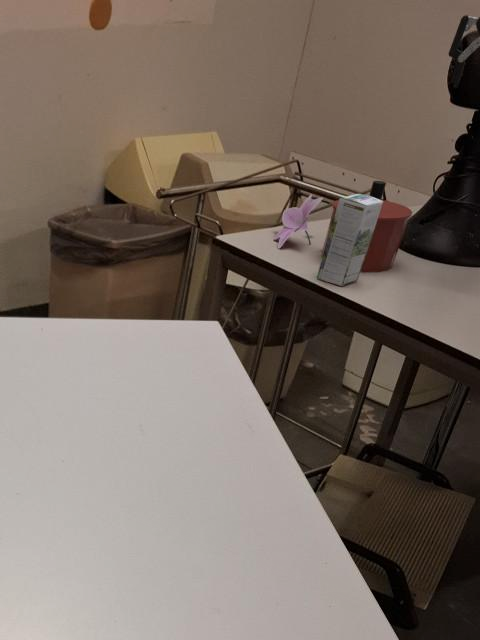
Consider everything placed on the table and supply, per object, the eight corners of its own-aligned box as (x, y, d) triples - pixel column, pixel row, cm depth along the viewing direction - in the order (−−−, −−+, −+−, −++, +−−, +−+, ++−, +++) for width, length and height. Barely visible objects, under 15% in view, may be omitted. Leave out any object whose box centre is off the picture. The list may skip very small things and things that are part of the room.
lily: (281, 237, 185) (270, 197, 178) (336, 223, 178) (328, 181, 171) (270, 270, 179) (259, 229, 173) (327, 257, 172) (318, 214, 166)
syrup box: (332, 273, 164) (355, 192, 154) (358, 281, 160) (384, 199, 151) (315, 278, 161) (338, 196, 151) (342, 287, 157) (367, 203, 148)
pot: (404, 256, 173) (420, 207, 167) (376, 280, 161) (393, 227, 155) (338, 243, 179) (352, 195, 173) (306, 265, 167) (320, 213, 161)
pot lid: (419, 212, 166) (429, 181, 162) (397, 228, 156) (408, 196, 153) (345, 199, 172) (353, 169, 168) (320, 214, 163) (328, 182, 159)
